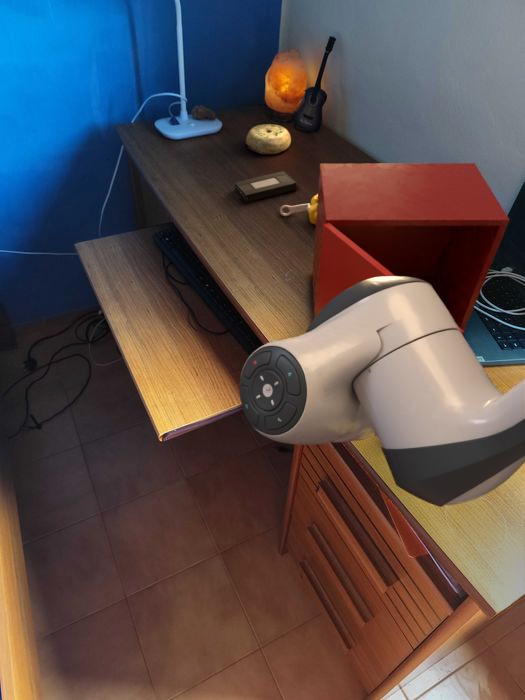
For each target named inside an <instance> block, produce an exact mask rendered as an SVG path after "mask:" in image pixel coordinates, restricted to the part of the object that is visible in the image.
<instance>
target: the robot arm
mask: <svg viewBox="0 0 525 700" xmlns="http://www.w3.org/2000/svg"><path fill="white" fill-rule="evenodd" d="M238 390H239V400H240V404H241V407H242V410H243V412H244V415H245V418H246V419H247V421H248V423H249V424H250V425H251V427H252V428H253V429H254V430H255V431H257V432H258V433H259V434H260V435H262V436H263V437H265V438H267V439H269V440H271V441H274V442H277V443H283V444H288V445H289V444H290V445H301V446H302V445H303V446H310V445H325V444H328V443H347V442H359V441H363V440H367V439H369V438H371V437H373V436H375V437H376V438H377V439H378V441H379V443H380V444H381V447H380V449H381V452H382V453H383V456H384V458H385V461H386V463H387V466H388V468H389V471H390V473H391V477H392V479H393V481H394V483H395V485H396V487H398V488H400V489H401V490H403V491H405V493H408V494H410V495H412V496H413V497H415V498H417V499H419V500H421V501H424V502H426V503H428V504H431V505H434V506H437V507H439V508H442V507H444V506H457V505H463V504H467V503H470V502H472V501H473V502H474V501H475V500H478V499H480V498H482V497H484V496H486V495H488V494H489V493H491V492H493V491H494V490H497V488H499V487H501V486H502V485H503V484H504V483H505V482H506V481H508V480H509V479H510V478H511V477H512V476H513V475H514V474H515V473H516V472H518V470H519V469H520V468H521V467H522V466H523V465H524V464H525V377H523V378H522V379H521V380H520V381H518V382H517V383H516V384H514V385H513V386H512V387H510V389H508V390H507V391H506V392H505V393H504V392H503V391H502V390H500V389H499V388H498V387H497V386H496V385H495V384H494V382H493V380H492V379H491V377H490V376H489V374H488V373H487V371H486V370H485V368H484V366H483V365H482V363H481V361H480V359H478V357H477V356H476V354H475V352H474V351H473V349H472V348H471V346H470V344H469V343H468V341H467V340H466V338H465V337H464V334H463V335H462V334H461V330H460V329H459V327H458V325H457V324H456V322H455V321H454V319H453V317H452V316H451V314H450V313H449V311H448V310H447V308H446V307H445V305H444V304H443V302H442V301H441V299H440V298H439V296H438V295H437V293H436V292H435V290H434V289H433V288H432V285H431V284H430V283H428V282H426V281H424V280H420V279H417V278H412V277H402V276H383V277H375V278H370V279H367V280H364V281H362V282H359V283H357V284H355V285H354V286H352V287H350V288H348V289H347V290H345V291H343V292H342V293H340V294H339V295H338V296H336V297H335V298H334V299H332V300H331V301H330V302H329V303H328V304H327V305H326V306H325V307H324V308H323V309H322V310H321V311H320V312H319V313H318V314H317V316H316V317H315V316H314V318H313V319H312V322H310V324H309V326H308V327H307V329H306V331H305V332H304V333H303V334H300V335H297V336H293V337H287V338H282V339H277V340H272V341H270V342H266V343H265V344H264V345H261V346H259V347H257V348H256V350H254V351H253V352H252V353H251V354H250V355H249V356H248V358H247V359H246V361H245V363H244V365H243V367H242V370H241V373H240V378H239V387H238Z"/></svg>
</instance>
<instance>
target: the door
mask: <svg viewBox="0 0 525 700" xmlns="http://www.w3.org/2000/svg"><path fill="white" fill-rule="evenodd" d="M383 276H395V275H393V274H392V273H391V272H390V271H388V270H387V269H386V268H385V267H383V266H382V265H381V264H380V263H379V262H377V261H376V260H375V259H374V258H372V257H371V256H370V255H369V254H367V253H366V252H365V251H364V250H362V249H361V248H360V247H359V246H357V245H356V244H355V243H354V242H352V241H351V240H350V239H349V238H347V237H346V236H345V235H344V234H342V233H341V232H340V231H339V230H337V229H336V228H335V227H334V226H332V225H331V224H330V223H327V224H324V225H323V237H322V249H321V261H320V273H319V285H318V297H317V310H316V316H317V314H318V313H319V312H320V311H321V310H322V309H323V308H324V307H325V306H326V305H327V304H328V303H329V302H330V301H331V300H332V299H334V298H335V297H336V296H338V295H339V294H340V293H342V292H343V291H345V290H347V289H348V288H350V287H352V286H354V285H355V284H357V283H359V282H362V281H364V280H367V279H370V278H375V277H383ZM459 329H460V330H461V334H462V335H463V336H464V333H465V330H464V331H463V330H462V329H461V328H459Z"/></svg>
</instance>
